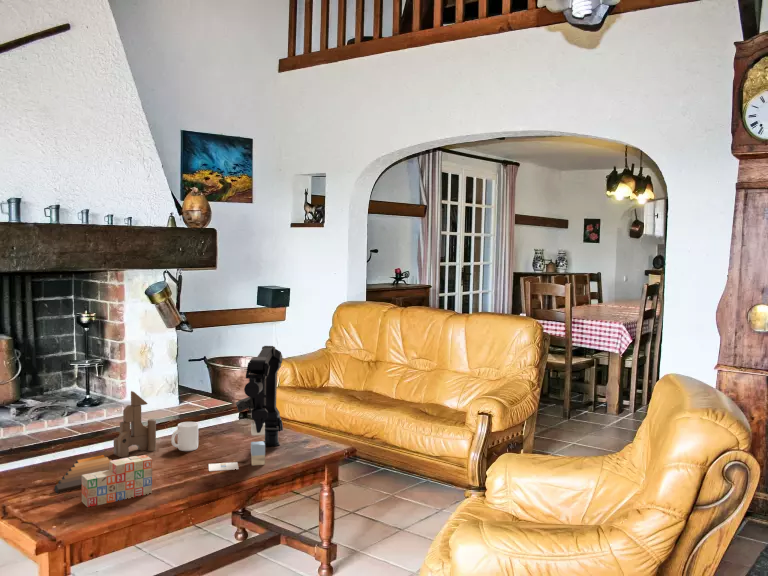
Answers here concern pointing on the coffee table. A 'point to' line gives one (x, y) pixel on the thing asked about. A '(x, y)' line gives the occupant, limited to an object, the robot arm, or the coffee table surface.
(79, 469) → the pan flute
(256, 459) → the beech brick
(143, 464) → the stack of blocks
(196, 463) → the coffee table surface
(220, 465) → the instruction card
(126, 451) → the wooden toy
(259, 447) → the blue brick
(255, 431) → the cream brick
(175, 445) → the mug
